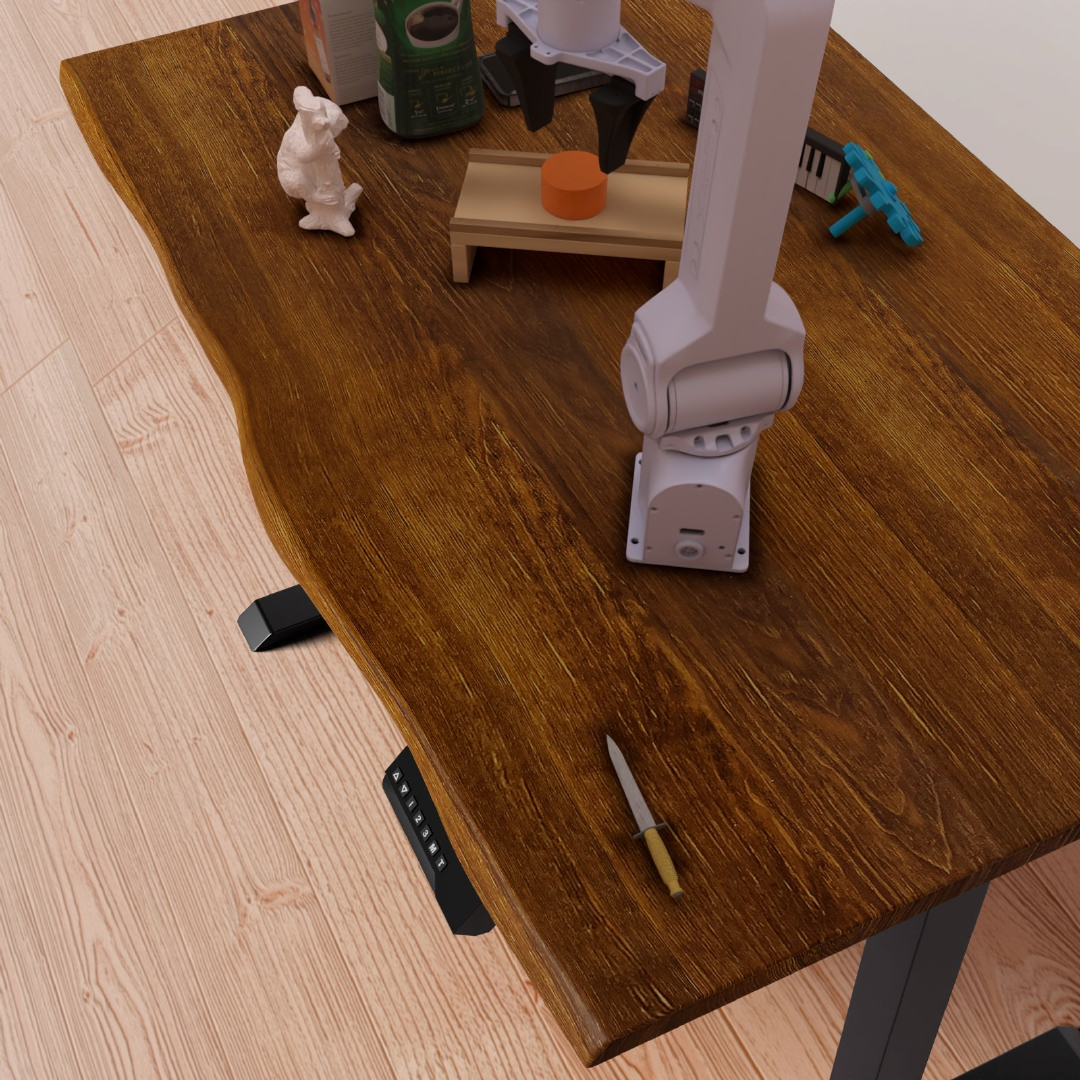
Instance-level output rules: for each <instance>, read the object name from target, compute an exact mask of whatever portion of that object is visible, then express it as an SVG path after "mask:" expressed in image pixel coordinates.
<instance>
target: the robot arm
mask: <svg viewBox="0 0 1080 1080" xmlns="http://www.w3.org/2000/svg"><path fill="white" fill-rule="evenodd" d="M684 1H686V2H688V3H690V4H691V5H694V6H696V7H698V8H700V9H702V10H704V11H707V13H709V15H710V17H711V19H712V30H711V38H710V45H709V52H708V60H707V66H706V72H707V73H706V80H705V87H704V95H703V102H702V109H701V116H700V123H699V130H698V131H697V138H696V145H695V153H694V160H693V168H692V174H691V182H690V187H689V189H690V190H689V196H688V204H687V210H686V216H685V226H684V239H683V246H682V253H681V260H680V267H679V275H678V278H677V279H676V280H675V281H674V282H672V283H671V284H670V285H669V286H668V287H666V288H665V289H664V290H663V289H662V290H660V292H658V293H656V295H654V296H652V297H651V298H650V299H649V300H647V302H645V303H643V305H642V306H640V307H639V308H638V309H637V310H636V311H635V312H634V317H633V323H632V325H631V330H630V334H629V337H628V338H627V340H626V343H625V345H624V346H623V348H622V350H621V354H620V366H619V367H620V368H619V369H620V380H621V381H620V382H621V389H622V392H623V397H624V401H625V405H626V408H627V411H628V415H629V416H630V419H631V421H632V423H633V425H634V426H635V427H636V429H637V430H639V432H641V433H642V434H643V441H642V449H641V450H642V452H641V451H640V452H638V453H637V454H636V455H635V460H634V461H635V462H634V472H633V482H632V493H631V502H630V510H629V511H630V512H629V520H628V532H627V541H626V551H625V554H626V555H625V557H626V559H627V561H629V562H631V563H635V564H636V563H637V564H647V565H658V566H668V567H678V568H688V569H699V570H708V571H718V572H729V573H739V574H741V573H745V572H747V571H748V570H749V569H748V568H749V564H750V563H749V562H750V517H751V516H750V512H751V511H750V510H751V508H750V507H751V476H752V471H753V468H754V467H753V466H754V462H755V457H756V453H757V448H758V445H759V441H760V440H759V439H760V435H761V432H762V431H764V430H767V429H769V428H772V427H773V424H774V421H775V415H776V413H782V412H786V411H789V410H791V409H793V407H794V406H795V405H796V403H797V401H798V399H799V396H800V394H801V392H802V389H803V386H804V378H805V362H804V347H805V346H804V344H805V339H806V335H807V333H806V327H805V325H804V323H803V320H802V317H801V315H800V313H799V311H798V308H797V307H796V304H795V303H794V301H793V300H792V298H791V296H790V295H789V294H788V292H787V291H786V290H785V289H784V288H783V287H782V286H781V285H780V284H778V283H777V282H776V281H774V275H775V272H776V267H777V262H778V258H779V253H780V249H781V244H782V240H783V235H784V231H785V227H786V223H787V218H788V214H789V210H790V204H791V201H792V197H793V196H792V195H793V192H794V187H795V184H796V183H795V179H796V174H797V170H798V165H799V161H800V157H801V152H802V148H803V143H804V139H805V134H806V130H807V126H808V125H809V121H810V116H811V113H812V108H813V103H814V98H815V94H816V89H817V86H818V81H819V77H820V72H821V67H822V63H823V59H824V54H825V50H826V46H827V41H828V38H829V33H830V28H831V24H832V18H833V13H834V8H835V3H836V0H684ZM621 7H622V0H495V8H496V9H495V11H496V12H495V13H496V24H497V25H498V26H499V27H501V28H504V29H507V31H506V32H505V36H504V37H502V38H499V39H498V40H497V41H496V42H495V44H494V52H495V54H496V55H497V56H498V58H499V59H500V61H501V62H502V64H503V65H504V67H505V69H506V70H507V72H508V74H509V76H510V78H511V80H512V83H513V85H514V88H515V90H516V93H517V96H518V99H519V102H520V105H519V106H520V108H521V109H520V110H521V112H522V115H523V118H524V122H525V125H526V129H527V131H529V132H531V133H533V134H534V133H536V132H538V131H539V130H542V129H543V128H544V127H546V126H548V125H550V124H551V123H552V122H553V118H554V113H555V101H556V99H555V97H556V96H555V80H556V72H557V66H558V62H559V61H560V62H564V63H568V64H572V65H576V66H581V67H585V68H589V69H593V70H597V71H601V72H604V73H606V74H608V75H610V76H611V80H610V83H607V84H604V85H601V87H599V88H596V89H595V90H593V91H592V92H591V93H589V94H588V101H589V103H590V105H591V108H592V111H593V115H594V117H595V122H596V128H597V136H598V151H597V152H598V154H597V156H598V157H599V166H600V171H601V172H603V173H605V174H610V173H611V172H613V171H615V170H616V169H618V168H619V167H621V166H622V165H624V164H625V161H626V159H628V154H629V151H630V148H631V145H632V143H633V140H634V137H635V135H636V132H637V130H638V128H639V125H640V123H641V121H642V120H643V118H644V117H645V114H646V113H647V111H648V110H649V108H650V106H651V105H652V103H653V102H654V100H655V99H656V98H657V96H658V95H659V93H662V92H663V91H664V90H665V85H666V73H667V63H665V62H663V61H662V60H659V59H658V58H657V57H655V56H654V55H652V54H651V53H650V52H649V51H648V50H647V49H646V48H645V47H644V46H643V45H642V44H641V43H640V42H639V41H638V40H637V39H636V38H635V37H634V36H633V35H632V34H631V33H630V32H629V31H628V30H627V29H626V28H625V27H624V26H623V25H622V24H621ZM808 127H809V126H808ZM633 542H636V543H633ZM740 553H741V554H740Z"/></svg>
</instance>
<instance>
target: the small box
mask: <svg viewBox="0 0 1080 1080" xmlns="http://www.w3.org/2000/svg"><path fill="white" fill-rule="evenodd" d="M297 1H298V2H297V3H298V7H299V8H298V9H299V13H300V20H301V27H302V32H303V38H304V44H305V51H306V57H307V63H308V66H309V68H310V69H311V71H312V72H313V73H314V75H315V76H316V78H317V80H318V81H319V82H320V85H321V86H322V87H323V89H324V91H325V92H326V94H327V96H328V97H329V100H330V101H332V102H333V103H335V104H336V105H338V106H339V107H341V106H344V105H348V104H352V103H355V102H360V101H364V100H369V99H372V98H375V97H378V86H377V42H376V23H375V13H374V5H373V0H297Z"/></svg>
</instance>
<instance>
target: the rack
mask: <svg viewBox="0 0 1080 1080" xmlns="http://www.w3.org/2000/svg"><path fill="white" fill-rule="evenodd" d="M555 154H556V153H549V152H548V153H546V152H532V151H519V150H505V149H491V148H478V147H477V148H475V147H470V148H469V151H468V165H467V168H466V171H465V174H464V179H463V183H462V186H461V191H460V193H459V196H458V200H457V203H456V208H455V212H454V214H453V215H454V216H450V219H449V223H448V225H449V237H450V249H451V250H450V251H451V264H452V275H453V282H454V283H463V284H469V281H470V277H471V273H472V269H473V265H474V262H475V258H476V253H477V248H478V247H486V248H501V249H513V250H526V251H537V252H538V251H539V252H552V253H564V254H574V255H575V254H576V255H590V256H602V257H615V258H627V259H628V258H629V259H641V260H642V259H643V260H653V261H664V270H663V281H662V290H664V289H665V288H666V287H668V286H669V285H670V284H671V283H672V282H674V281H675V280H676V279H677V278H678V275H679V267H680V260H681V253H682V246H683V239H684V231H685V224H686V214H687V210H686V209H687V201H688V200H687V199H688V186H689V174H690V173H689V172H690V163H687V162H672V161H661V160H660V161H659V160H646V159H645V160H644V159H631V158H630V159H629V158H626V161H625V164H624V165H622V166H621V167H619V168H618V169H616V170H615V171H613V172H611V173H610V174H608V184H607V202H606V205H605V207H604V209H603V210H602V211H601V212H600V213H598V214H597V215H595V216H593V217H590V218H587V219H582V220H566V219H562V218H558V217H556V216H554V215H552V214H550V213H549V212H547V211H546V210H545V208H544V207H543V205H542V202H541V168H542V165H543V163H544V162H545V161H546V160H547V159H548V158H549V157H551V156H553V155H555Z"/></svg>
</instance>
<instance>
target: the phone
mask: <svg viewBox="0 0 1080 1080" xmlns="http://www.w3.org/2000/svg"><path fill="white" fill-rule="evenodd" d="M478 62H479V67H480V73H481V78H482V82H484V83H485V86H486V87H487V88H488V89H489V91H490V92H491V93H492V95H493V96H494V98H495V99H496V101H497V102H498V103H499V104H500V105H502V106H503V107H504V106H505V107H517V106H521V105H520V102H519V99H518V96H517V93H516V90H515V88H514V85H513V83H512V80H511V78H510V76H509V74H508V72H507V70H506V69H505V67H504V65H503V64H502V62H501V61H500V59H499V58H498V56H497V55H496V54H495V51H492V52H488V53H487V52H486V53H484V54H480V55H478ZM610 80H611V76H610V75H608V74H606V73H604V72H601V71H597V70H593V69H589V68H585V67H581V66H576V65H572V64H568V63H564V62H560V61H559V62H558V66H557V72H556V80H555V97H557V96H558V97H559V96H562V95H565V94H570V93H574V92H578V91H582V90H587V89H591V88H594V87H599V86H604V85H606V84H607V83H608V84H610Z"/></svg>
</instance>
